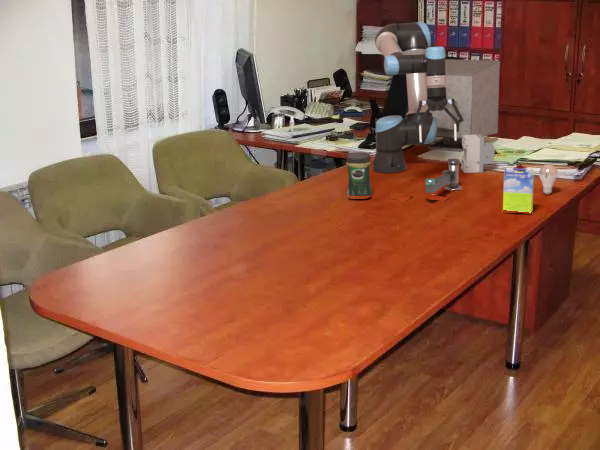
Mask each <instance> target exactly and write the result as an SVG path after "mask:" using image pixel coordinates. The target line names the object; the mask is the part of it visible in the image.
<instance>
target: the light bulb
mask: <svg viewBox="0 0 600 450" xmlns="http://www.w3.org/2000/svg"><path fill="white" fill-rule="evenodd" d="M558 175H559V172H558V169H557V167H556V166H554V165H553V164H545V165H542V166H541V168H540V169H539V172H538V177H539V179H540V180H541V183H542V186H543V188H542V192H543V194H545V195H547V196H548V195H549V196H550V194H551V193H553V186H554V183H555V181H556V180H557V178H558Z"/></svg>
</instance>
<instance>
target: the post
mask: <svg viewBox="0 0 600 450" xmlns="http://www.w3.org/2000/svg"><path fill="white" fill-rule="evenodd" d="M460 161H461V160H460V159H458V158H449V159H447V164H448V169H447V170H450V171H457V178H456V181H455V182H449V183H448V184H446V185H445V186H444V190H445V189H448V190H460V189H462V190H463V186H462V185H459V175H460V174H459V172H460V171H459V169H460V168H459V167H460V163H461V162H460Z"/></svg>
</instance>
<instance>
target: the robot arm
mask: <svg viewBox="0 0 600 450" xmlns="http://www.w3.org/2000/svg"><path fill="white" fill-rule="evenodd" d="M431 39H432V37H431V32H430V29H429V27H428V24H426V23H425V22H417V21H415V22H405V23H402V22H401V23H391V24H387V25H385V26H384V27H382V28H381V29H379V31H378V32H377V33H376V35H375V38H374V45H375V48H376V49H377V50H378V52H380V53H382V56H383V57H384V59H383V68H384V73H385V74H386V75H390V76H392V75H393V76H396V75H405V76H406V90H407V103H408V104H407V105H408V111H407V113H406V114H405V118H403V116H402V115H398V114H397V115H394V114H393V115H387V116H383V117H380V118H378V119H377V121H376V122H375V149H376V150H375V155H374V158H373V162H372V170H373V172H377V173H382V174H393V173H400V172H405V171H406V170H407V168H408V167H407V166H408V165H407V162H406V159H405V156H404V155H405V154H404V153H403V152H404V151H403V146H415V145H428V144H432V143H434V141H435V140H436V138H437V137H436V131H437V119H436V117H432V112H431V111H430V110H432V111H437V110H438V111H441V110H443V109H444V110H445V111H446V113H447V114H448V115H449V116H450V117H451V118H452V119H453V120H454V121H455V122H456V124H454V140H455V141H457V136H456V132H459V123H460V122H463V121H464V119H463V118H462V116H461V114H460V112H459V110H458V108H457V107H456V105H455V100H454V99H449V100H447V98H446V87H445V85H446V68H445V59H446V50H445V47H444V46H431V45H432V40H431ZM426 80H427V85H426ZM427 87H428V88H427ZM448 102H449V103H450V104H452V106H453V108H454V110H455V112H456V113H457V115H458V117H459V120H457V119H456V118H455V117H454V115H453V114H452V113H451V112H450V111H449V110H448V109H447V108H446V107H445V106H446V104H447V103H448ZM428 107H429V108H428Z"/></svg>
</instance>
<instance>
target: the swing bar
mask: <svg viewBox="0 0 600 450" xmlns="http://www.w3.org/2000/svg"><path fill="white" fill-rule="evenodd" d="M456 178H457V171H450V170H448V169H444V170H442V174H441V175H439V176H437V177H436V178H433V177H427V178H425V193H428V194H429V193H430V194H434V193H436V192H437V191H439V190H441V188H443V187H445V186H447V185H448V183H449V182H455V181H456Z"/></svg>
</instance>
